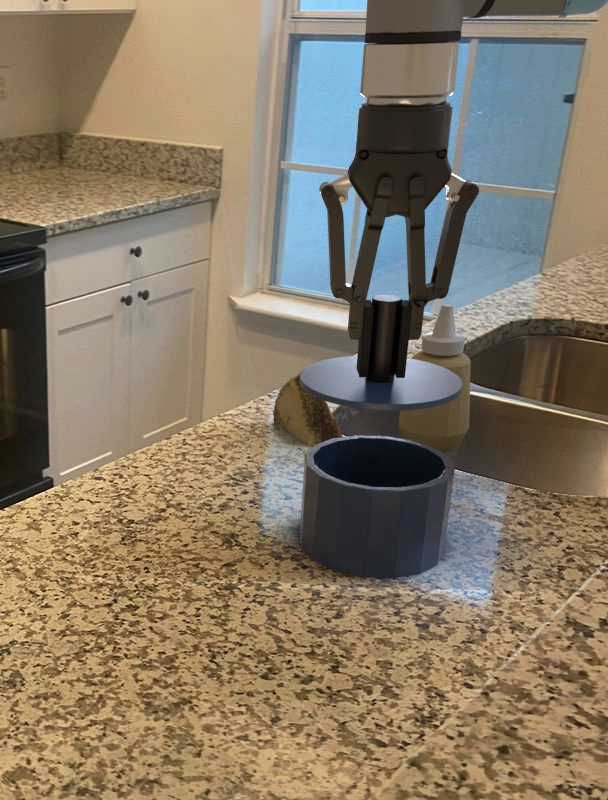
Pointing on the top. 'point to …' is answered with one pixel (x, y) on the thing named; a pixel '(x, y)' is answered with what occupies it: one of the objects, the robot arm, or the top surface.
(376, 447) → the pot
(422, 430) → the squeeze bottle
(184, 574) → the top surface
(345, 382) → the pot lid
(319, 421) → the rock
